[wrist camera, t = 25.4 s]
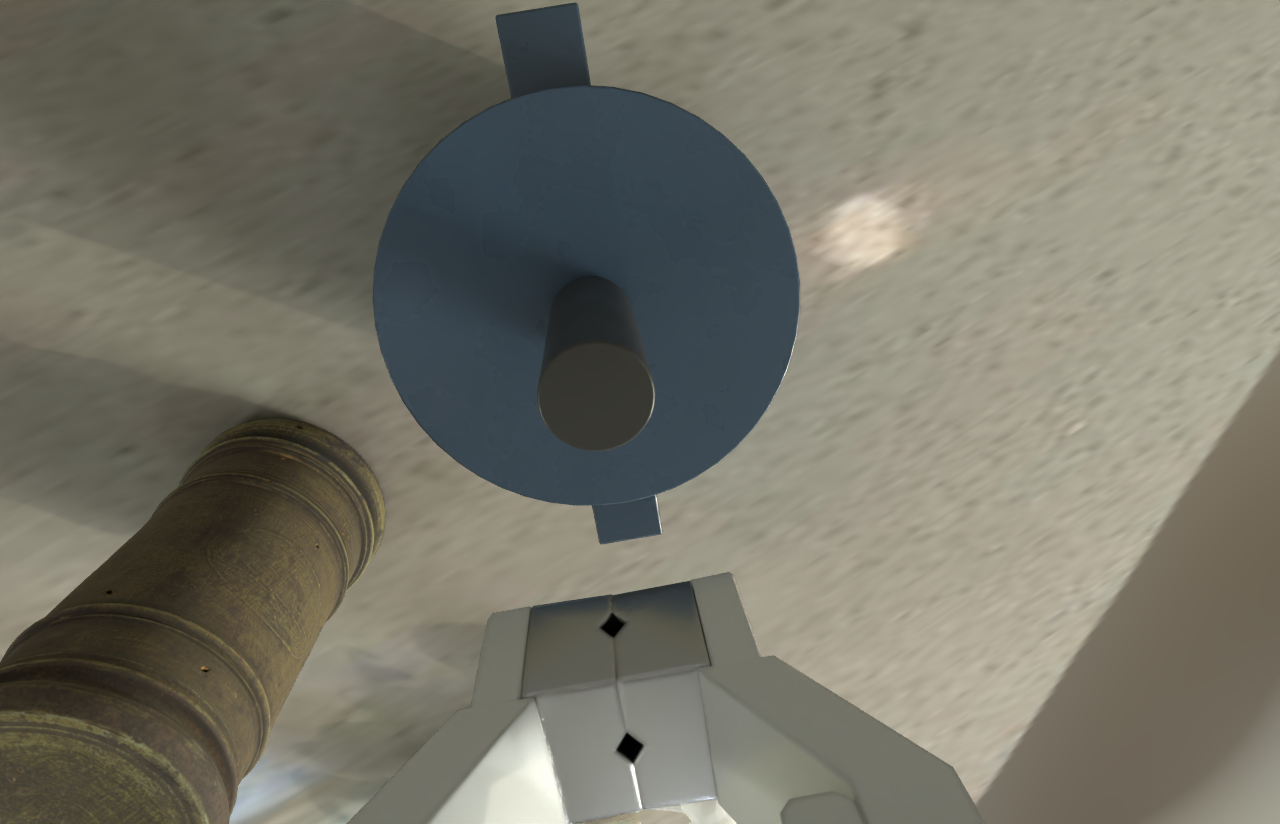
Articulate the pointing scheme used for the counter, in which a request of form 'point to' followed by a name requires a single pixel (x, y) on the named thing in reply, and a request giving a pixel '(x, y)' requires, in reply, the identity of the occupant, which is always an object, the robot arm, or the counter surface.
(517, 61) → the pot
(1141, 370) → the counter surface
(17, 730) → the container
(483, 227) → the lid
